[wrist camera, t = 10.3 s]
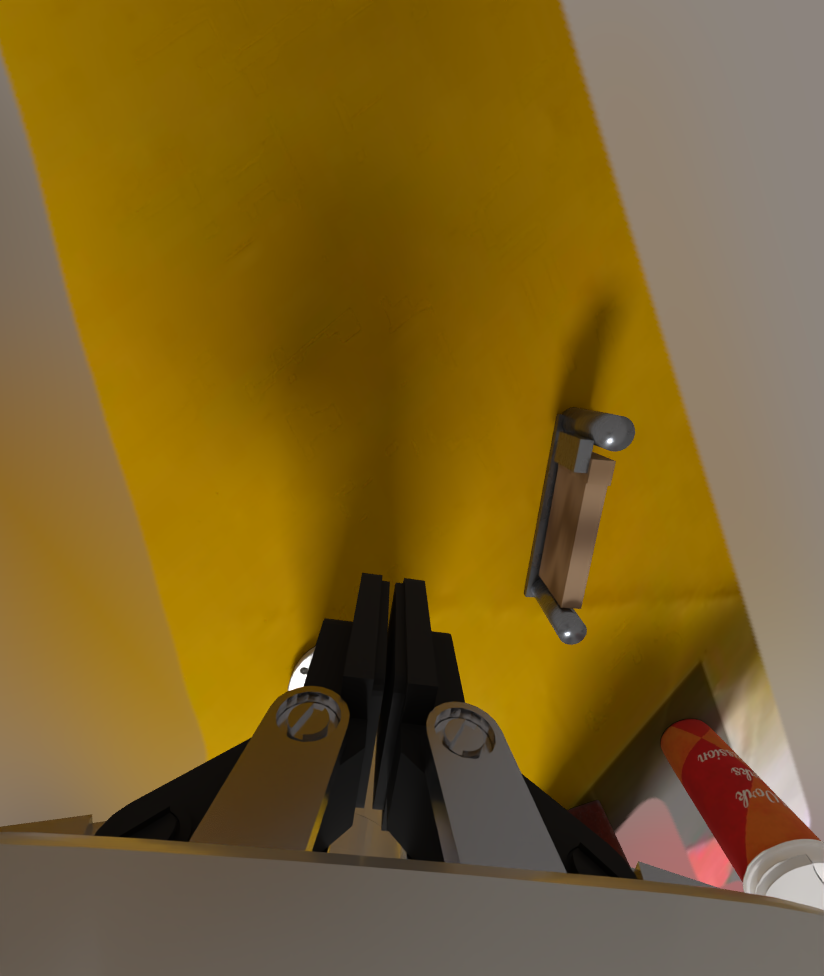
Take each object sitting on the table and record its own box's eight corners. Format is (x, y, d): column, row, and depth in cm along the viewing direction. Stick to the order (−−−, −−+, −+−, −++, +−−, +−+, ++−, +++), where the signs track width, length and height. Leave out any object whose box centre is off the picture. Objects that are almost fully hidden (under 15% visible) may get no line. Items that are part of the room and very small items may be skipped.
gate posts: (554, 596, 40) (588, 645, 33) (518, 593, 40) (544, 642, 33) (593, 409, 35) (642, 418, 28) (552, 405, 35) (592, 413, 28)
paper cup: (735, 730, 45) (879, 883, 32) (686, 777, 47) (803, 942, 33) (683, 698, 44) (810, 843, 30) (634, 747, 45) (734, 906, 32)
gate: (556, 576, 38) (583, 610, 33) (538, 575, 38) (561, 609, 33) (581, 447, 35) (615, 461, 30) (561, 445, 35) (592, 459, 30)
